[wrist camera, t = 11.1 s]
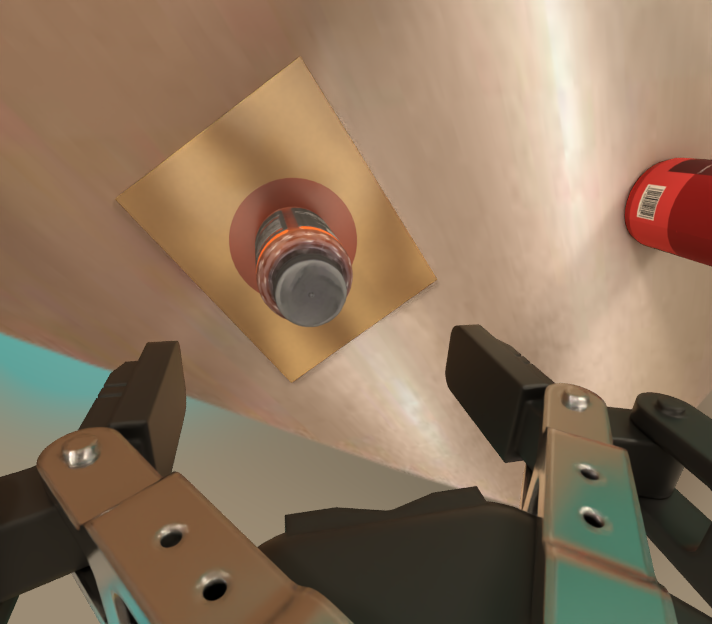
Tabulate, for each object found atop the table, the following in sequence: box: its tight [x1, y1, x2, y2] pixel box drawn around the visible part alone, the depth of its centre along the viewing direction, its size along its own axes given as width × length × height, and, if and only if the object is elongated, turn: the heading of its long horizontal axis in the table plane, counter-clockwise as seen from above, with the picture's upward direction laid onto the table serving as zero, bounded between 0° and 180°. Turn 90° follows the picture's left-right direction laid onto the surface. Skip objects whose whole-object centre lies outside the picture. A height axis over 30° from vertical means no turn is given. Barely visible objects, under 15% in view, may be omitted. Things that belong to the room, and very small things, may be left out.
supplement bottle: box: [255, 207, 353, 327], centre depth 28 cm, size 6×6×11 cm
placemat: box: [116, 57, 437, 383], centre depth 33 cm, size 16×20×1 cm
